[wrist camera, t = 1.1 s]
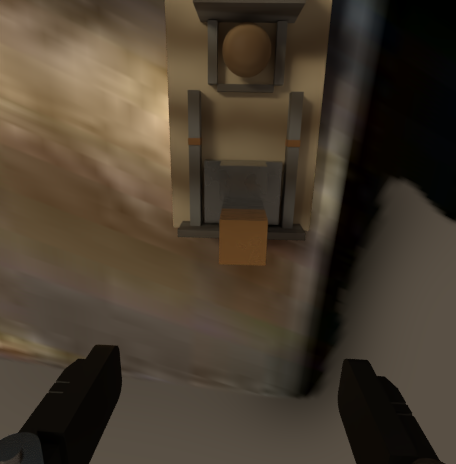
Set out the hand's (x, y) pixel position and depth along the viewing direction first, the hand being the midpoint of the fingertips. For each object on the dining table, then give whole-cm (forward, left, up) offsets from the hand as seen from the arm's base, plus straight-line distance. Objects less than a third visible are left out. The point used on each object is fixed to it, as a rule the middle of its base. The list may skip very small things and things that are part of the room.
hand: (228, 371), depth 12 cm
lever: (-2, +1, -23) cm, 23 cm away
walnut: (-14, +1, -23) cm, 27 cm away
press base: (-9, +1, -25) cm, 26 cm away
